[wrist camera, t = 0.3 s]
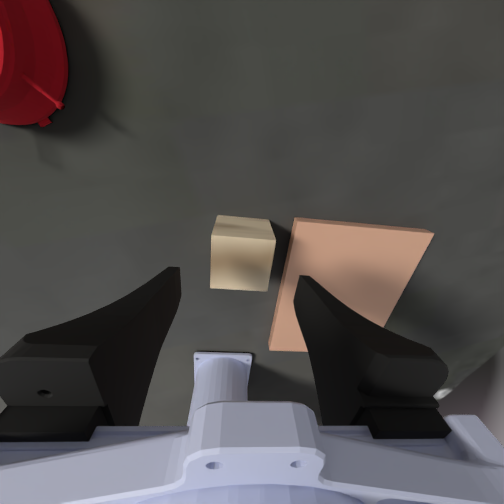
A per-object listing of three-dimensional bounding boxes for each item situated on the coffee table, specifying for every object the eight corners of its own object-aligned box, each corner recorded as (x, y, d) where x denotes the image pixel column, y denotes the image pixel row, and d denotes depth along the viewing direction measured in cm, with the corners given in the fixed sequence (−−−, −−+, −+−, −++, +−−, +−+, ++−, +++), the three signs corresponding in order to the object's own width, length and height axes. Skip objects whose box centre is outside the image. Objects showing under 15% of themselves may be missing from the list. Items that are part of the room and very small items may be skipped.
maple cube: (262, 262, 23) (267, 291, 19) (216, 259, 23) (210, 288, 18) (268, 219, 21) (276, 240, 16) (217, 214, 20) (211, 235, 16)
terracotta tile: (364, 346, 30) (369, 353, 29) (268, 342, 29) (269, 350, 28) (425, 229, 22) (434, 233, 21) (294, 217, 21) (297, 221, 20)
